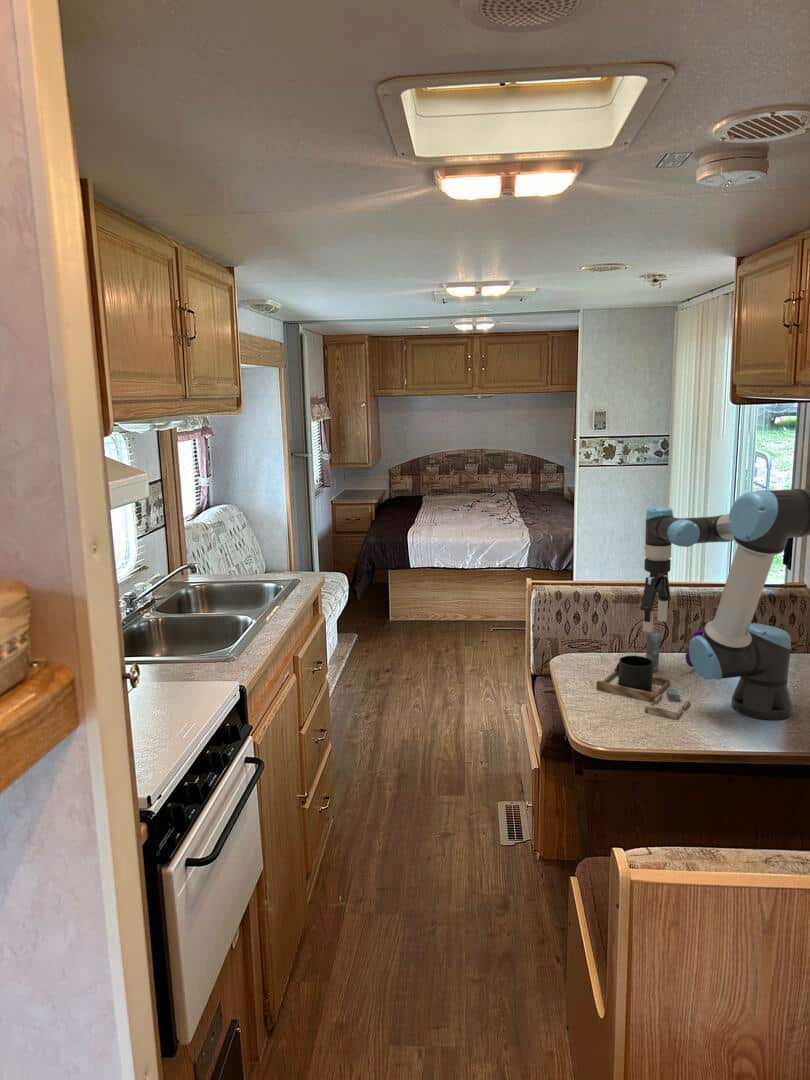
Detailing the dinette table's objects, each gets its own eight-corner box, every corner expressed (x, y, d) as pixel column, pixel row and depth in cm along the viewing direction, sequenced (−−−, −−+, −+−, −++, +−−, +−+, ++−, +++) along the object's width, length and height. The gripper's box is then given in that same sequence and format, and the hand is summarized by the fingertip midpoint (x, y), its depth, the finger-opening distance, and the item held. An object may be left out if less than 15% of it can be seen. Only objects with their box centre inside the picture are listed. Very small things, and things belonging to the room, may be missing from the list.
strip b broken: (694, 699, 218) (695, 692, 218) (677, 719, 205) (677, 712, 204) (664, 692, 223) (664, 686, 223) (644, 712, 210) (645, 705, 209)
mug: (627, 679, 233) (628, 650, 232) (658, 692, 223) (660, 662, 222) (604, 685, 229) (605, 656, 227) (635, 699, 219) (637, 668, 217)
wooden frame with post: (680, 674, 236) (682, 637, 234) (652, 702, 216) (655, 661, 214) (627, 664, 246) (629, 628, 244) (596, 689, 226) (597, 650, 223)
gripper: (658, 550, 245) (656, 615, 249) (631, 564, 225) (628, 634, 229) (682, 552, 241) (679, 618, 245) (656, 566, 221) (653, 638, 225)
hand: (655, 626), depth 237 cm, fingers open, 13 cm apart
